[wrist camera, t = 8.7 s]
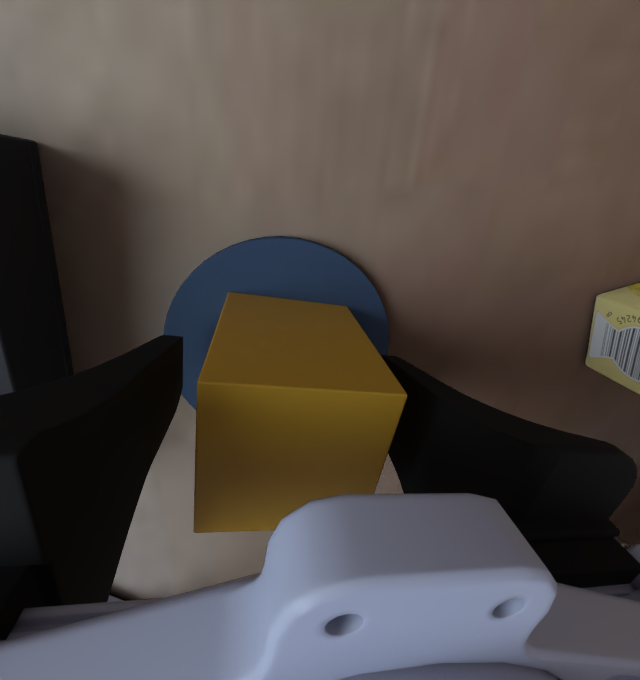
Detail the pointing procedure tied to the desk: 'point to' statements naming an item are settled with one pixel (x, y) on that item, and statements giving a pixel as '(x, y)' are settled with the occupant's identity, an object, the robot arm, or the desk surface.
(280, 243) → the coaster
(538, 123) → the desk surface
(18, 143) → the tray
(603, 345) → the candy box
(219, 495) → the block
